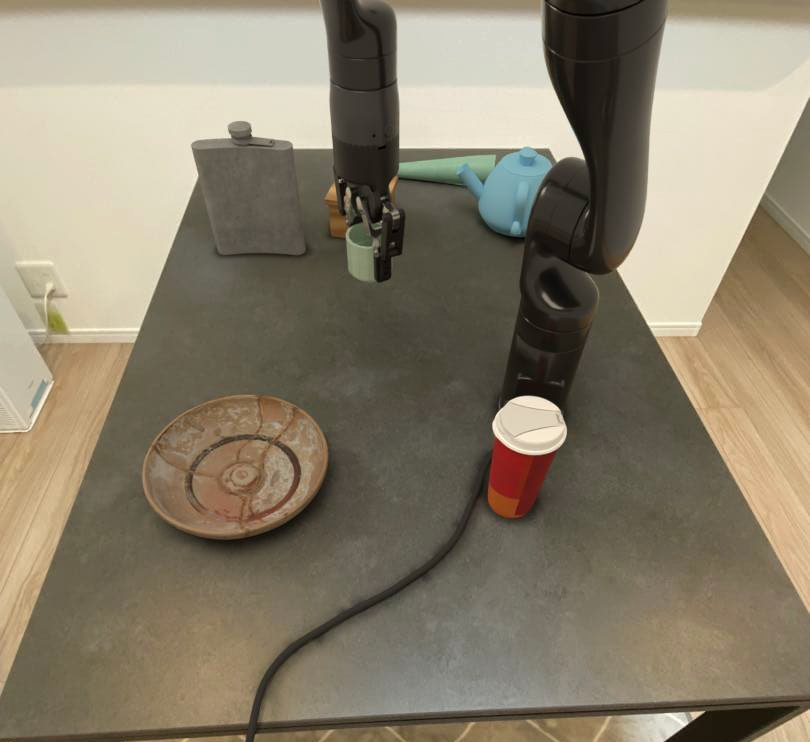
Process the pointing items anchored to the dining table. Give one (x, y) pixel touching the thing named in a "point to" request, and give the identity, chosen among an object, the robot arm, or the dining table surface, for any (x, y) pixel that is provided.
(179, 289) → the dining table surface
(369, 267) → the pale green cup
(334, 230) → the riser
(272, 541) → the dining table surface
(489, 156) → the mint green cone
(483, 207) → the teapot
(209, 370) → the dining table surface
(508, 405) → the coffee cup
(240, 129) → the hip flask
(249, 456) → the ceramic bowl
